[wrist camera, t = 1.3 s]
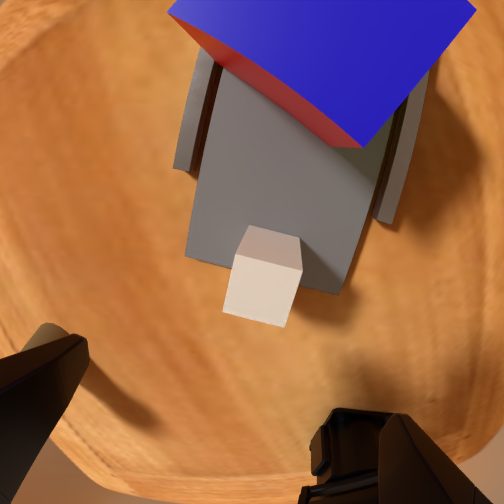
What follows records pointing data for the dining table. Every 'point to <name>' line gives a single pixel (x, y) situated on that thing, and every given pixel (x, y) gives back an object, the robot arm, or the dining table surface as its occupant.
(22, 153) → the dining table surface
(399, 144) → the lane rails
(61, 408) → the robot arm
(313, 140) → the grey panel with knob
